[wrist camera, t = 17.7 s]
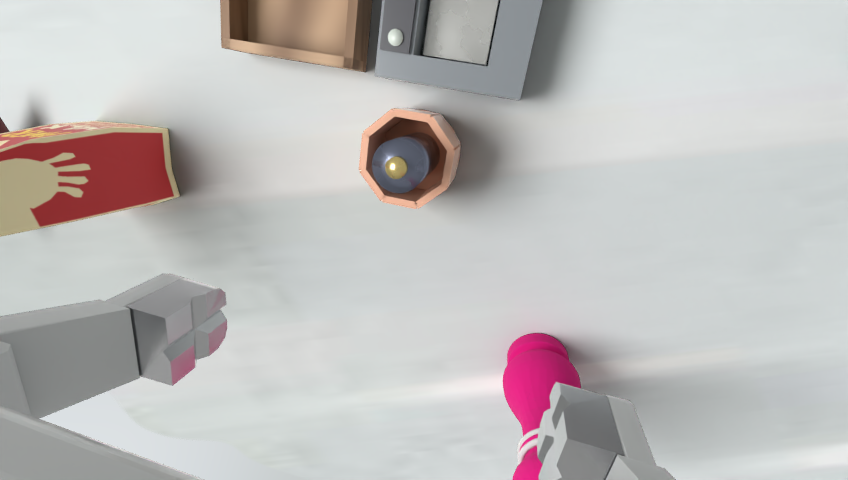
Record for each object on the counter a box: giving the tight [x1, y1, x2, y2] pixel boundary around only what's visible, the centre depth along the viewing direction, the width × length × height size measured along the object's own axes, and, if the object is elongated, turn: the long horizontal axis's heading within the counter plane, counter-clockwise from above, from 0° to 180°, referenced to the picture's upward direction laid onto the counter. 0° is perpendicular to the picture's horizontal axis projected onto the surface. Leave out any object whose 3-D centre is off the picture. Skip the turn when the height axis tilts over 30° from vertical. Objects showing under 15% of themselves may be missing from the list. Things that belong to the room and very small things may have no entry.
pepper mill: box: [503, 333, 581, 480], centre depth 32 cm, size 7×7×20 cm
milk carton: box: [0, 121, 180, 237], centre depth 34 cm, size 9×9×20 cm
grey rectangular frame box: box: [375, 0, 543, 100], centre depth 31 cm, size 12×10×4 cm
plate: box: [423, 0, 499, 65], centre depth 32 cm, size 5×5×1 cm
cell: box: [372, 132, 440, 193], centre depth 32 cm, size 4×4×9 cm
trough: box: [220, 0, 372, 72], centre depth 33 cm, size 12×8×3 cm, turn 81°
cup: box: [359, 108, 461, 209], centre depth 34 cm, size 8×8×6 cm
